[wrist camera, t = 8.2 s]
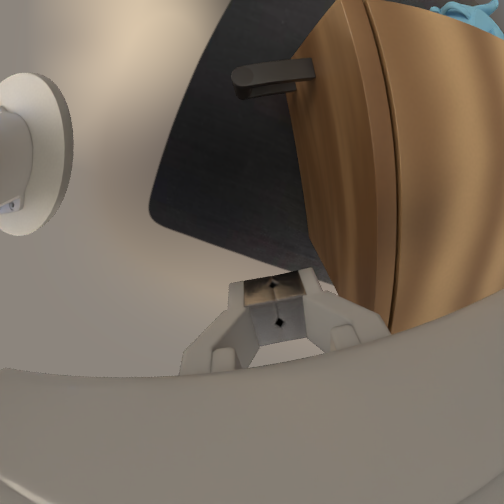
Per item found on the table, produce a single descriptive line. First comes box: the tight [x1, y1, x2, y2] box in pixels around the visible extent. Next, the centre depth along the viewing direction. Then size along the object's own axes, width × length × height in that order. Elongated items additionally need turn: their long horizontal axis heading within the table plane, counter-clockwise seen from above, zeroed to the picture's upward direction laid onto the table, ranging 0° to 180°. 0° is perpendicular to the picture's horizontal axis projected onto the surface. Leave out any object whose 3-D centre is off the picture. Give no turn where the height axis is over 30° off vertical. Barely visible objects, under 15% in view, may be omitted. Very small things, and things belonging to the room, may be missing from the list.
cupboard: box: [362, 0, 504, 335], centre depth 21 cm, size 16×22×22 cm
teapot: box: [430, 0, 504, 40], centre depth 17 cm, size 13×14×11 cm
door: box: [231, 0, 397, 328], centre depth 22 cm, size 7×22×22 cm, turn 11°
